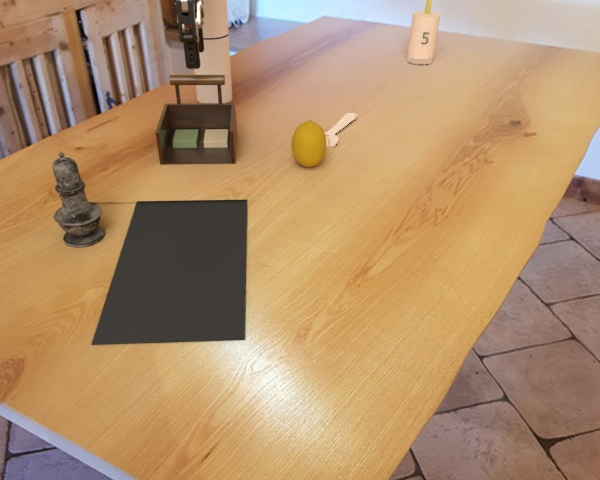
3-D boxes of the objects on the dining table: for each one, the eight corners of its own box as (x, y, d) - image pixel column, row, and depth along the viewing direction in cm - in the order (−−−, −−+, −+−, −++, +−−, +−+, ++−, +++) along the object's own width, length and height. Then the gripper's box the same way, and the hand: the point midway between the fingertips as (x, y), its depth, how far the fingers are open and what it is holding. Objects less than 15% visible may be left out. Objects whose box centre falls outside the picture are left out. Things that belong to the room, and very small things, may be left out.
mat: (147, 169, 88) (147, 167, 88) (247, 167, 89) (247, 166, 89) (91, 344, 57) (91, 343, 57) (244, 340, 58) (244, 338, 58)
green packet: (176, 136, 96) (175, 129, 96) (199, 135, 97) (198, 129, 96) (173, 148, 93) (172, 141, 92) (197, 148, 93) (196, 141, 92)
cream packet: (206, 135, 97) (205, 129, 96) (228, 135, 97) (228, 129, 96) (204, 148, 93) (203, 141, 92) (227, 147, 93) (227, 141, 92)
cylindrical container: (210, 110, 107) (197, -38, 91) (190, 99, 111) (174, -44, 95) (239, 101, 111) (232, -43, 95) (218, 91, 115) (208, -48, 99)
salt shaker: (80, 220, 76) (57, 137, 68) (116, 229, 74) (96, 146, 66) (51, 242, 72) (23, 157, 64) (88, 252, 70) (64, 166, 62)
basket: (169, 135, 98) (160, 73, 91) (237, 135, 98) (233, 73, 92) (160, 168, 88) (150, 101, 81) (235, 167, 89) (231, 100, 82)
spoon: (366, 118, 105) (366, 115, 105) (326, 154, 93) (326, 151, 93) (341, 112, 107) (341, 110, 107) (298, 147, 95) (298, 144, 94)
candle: (408, 65, 131) (417, -5, 121) (405, 57, 136) (414, -12, 126) (434, 66, 131) (446, -5, 121) (430, 57, 136) (441, -11, 126)
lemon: (303, 179, 86) (304, 130, 81) (284, 165, 90) (284, 118, 84) (332, 171, 88) (335, 123, 83) (312, 158, 92) (314, 111, 87)
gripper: (163, -66, 84) (177, 47, 94) (149, -52, 73) (167, 74, 83) (212, -66, 84) (221, 47, 95) (206, -51, 73) (216, 74, 84)
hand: (195, 59), depth 89 cm, fingers open, 8 cm apart
